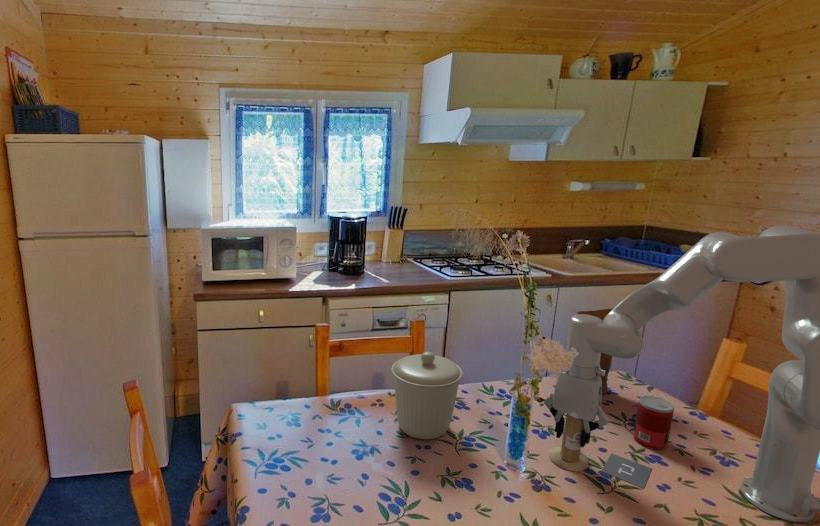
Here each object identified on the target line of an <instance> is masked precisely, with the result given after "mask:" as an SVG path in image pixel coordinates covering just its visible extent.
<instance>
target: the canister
mask: <svg viewBox="0 0 820 526" xmlns="http://www.w3.org/2000/svg"><path fill="white" fill-rule="evenodd" d="M390 371H391V373H392V375H393V379H394V380H393V381H394V396H395V397H394V398H395V408H396V419H397V423H398V426H399V428H400V430H401V431H403V433H404V434H406V435H407V436H409V437H411V438H415V439H419V440H432V439H436V438H439V437H441V436H443V435H445V433H446V432H447V431H448V430H449V428H450V425H451V422H452V419H453V414H454V409H455V404H456V400H457V393H458V390H459V385H460V381H461V380H462V378H463V376H464V373H463V369H462V367H460V366H459V365H458V364H457V363H455V362H453V361H452V360H451V359H448V358H446V357H444V356H440V355H435V353H433V352H431V351H424V352H422V353H417V354H411V355H408V356H405V357H402V358H400V359H398V360H396V361H394V363H393V364H392V366H391V370H390Z"/></svg>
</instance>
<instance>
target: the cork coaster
mask: <svg viewBox="0 0 820 526" xmlns="http://www.w3.org/2000/svg"><path fill="white" fill-rule="evenodd" d="M561 447H562V445H561V446H555V447H552V448H551V449H550V450H549V453H548V458H549V460H550V461H551V463H553V464H554V465H555V466H557V467H559V468H561V469H563V470H565V471H570V472H582V471H585V470H586V469H587V468H588V467H589V459H588V457H587V456H586V455H585V454H584V453H583V452H581V451H580V456H579V457H580V459H579V461H578V462H574V463H573V462H568V461H565V460H564V459H563V458H561V456H560V452H561Z"/></svg>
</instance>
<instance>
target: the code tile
mask: <svg viewBox="0 0 820 526" xmlns="http://www.w3.org/2000/svg"><path fill="white" fill-rule="evenodd" d="M601 472H602V473H605V474H607V475H609V476H612V477H615V478H616V479H619V480H622V481H623V482H627V483H629V484H632V485H634V486H636V487H640V488H642V489H645V486H646V483H647V481H648V479H649V477H650V473H651V472H652V467H649V466H647V465H643V464H641V463H639V462H635V461H633V460H631V459H628V458H626V457H622V456H620V455H617V454H615V453H612V452H610V455H609V456H608V459H607V461H606V462H605V464H604V466H603V467H602V469H601Z"/></svg>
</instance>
